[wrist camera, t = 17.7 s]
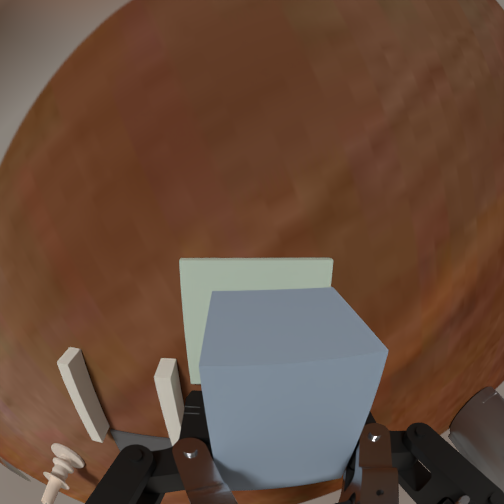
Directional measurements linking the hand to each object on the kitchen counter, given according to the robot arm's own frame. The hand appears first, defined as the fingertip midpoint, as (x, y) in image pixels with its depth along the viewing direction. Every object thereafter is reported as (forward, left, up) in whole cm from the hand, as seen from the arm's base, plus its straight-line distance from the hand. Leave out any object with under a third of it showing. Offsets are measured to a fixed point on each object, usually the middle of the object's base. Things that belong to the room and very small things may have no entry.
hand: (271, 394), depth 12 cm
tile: (0, 0, -8) cm, 8 cm away
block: (+2, 0, 0) cm, 2 cm away
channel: (-11, +11, -8) cm, 17 cm away
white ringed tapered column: (-23, +25, -8) cm, 35 cm away
